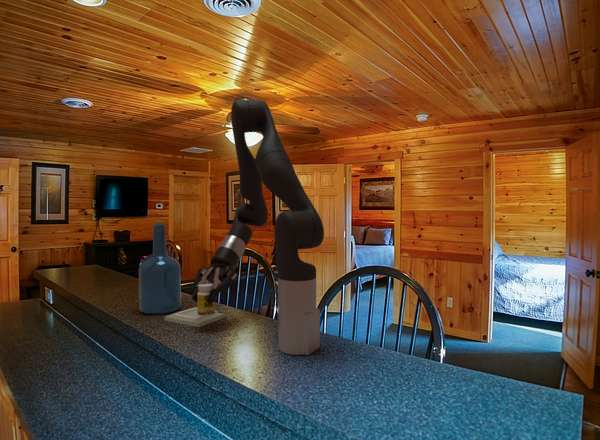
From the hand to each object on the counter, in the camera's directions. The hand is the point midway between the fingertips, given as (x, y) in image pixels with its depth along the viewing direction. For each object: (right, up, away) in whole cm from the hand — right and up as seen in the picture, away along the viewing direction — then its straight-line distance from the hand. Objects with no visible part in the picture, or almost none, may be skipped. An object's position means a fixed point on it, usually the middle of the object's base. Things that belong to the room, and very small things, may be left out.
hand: (201, 301), depth 107 cm
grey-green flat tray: (-5, -8, +12) cm, 15 cm away
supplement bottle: (+1, -4, +2) cm, 5 cm away
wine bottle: (-20, -8, +23) cm, 31 cm away
